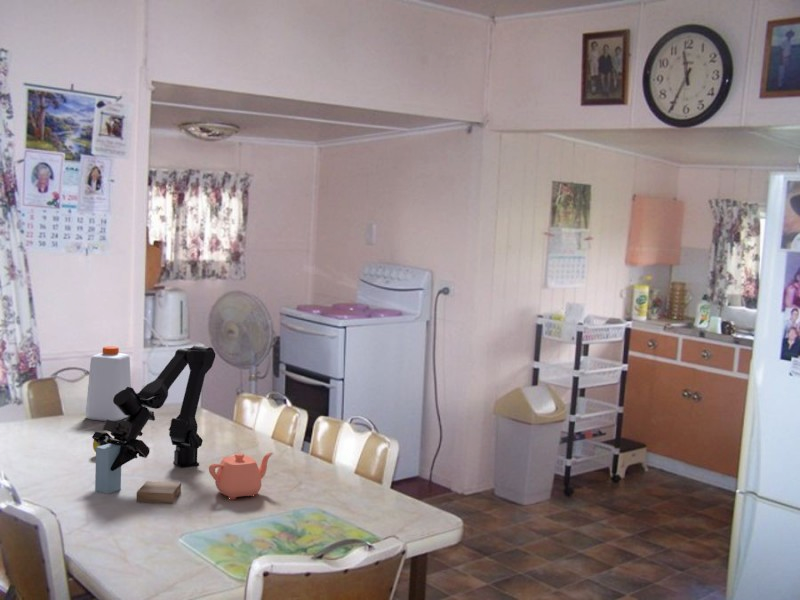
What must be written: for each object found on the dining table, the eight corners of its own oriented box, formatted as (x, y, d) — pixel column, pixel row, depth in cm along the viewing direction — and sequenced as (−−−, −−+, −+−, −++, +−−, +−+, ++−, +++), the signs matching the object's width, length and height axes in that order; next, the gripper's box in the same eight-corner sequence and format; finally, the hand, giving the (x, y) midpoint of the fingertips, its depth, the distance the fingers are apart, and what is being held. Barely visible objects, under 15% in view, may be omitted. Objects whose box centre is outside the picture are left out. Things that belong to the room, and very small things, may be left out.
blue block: (108, 486, 245) (109, 443, 244) (120, 489, 243) (121, 446, 242) (95, 490, 241) (96, 447, 240) (107, 493, 238) (108, 450, 237)
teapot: (280, 496, 245) (282, 456, 244) (215, 505, 234) (217, 463, 233) (263, 483, 256) (264, 444, 255) (200, 491, 245) (201, 451, 244)
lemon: (104, 458, 272) (105, 435, 271) (89, 457, 273) (89, 433, 272) (113, 454, 277) (114, 431, 277) (98, 452, 279) (99, 429, 278)
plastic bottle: (81, 419, 322) (82, 348, 319) (101, 411, 336) (102, 343, 334) (117, 423, 319) (118, 351, 317) (135, 414, 334) (137, 346, 332)
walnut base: (146, 491, 243) (146, 481, 242) (180, 492, 243) (180, 482, 243) (136, 502, 233) (136, 492, 232) (172, 504, 233) (172, 493, 233)
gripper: (97, 404, 247) (66, 448, 239) (143, 413, 239) (113, 459, 230) (117, 425, 255) (87, 468, 246) (162, 435, 247) (133, 480, 238)
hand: (104, 468), depth 240 cm, fingers closed on blue block, 5 cm apart
